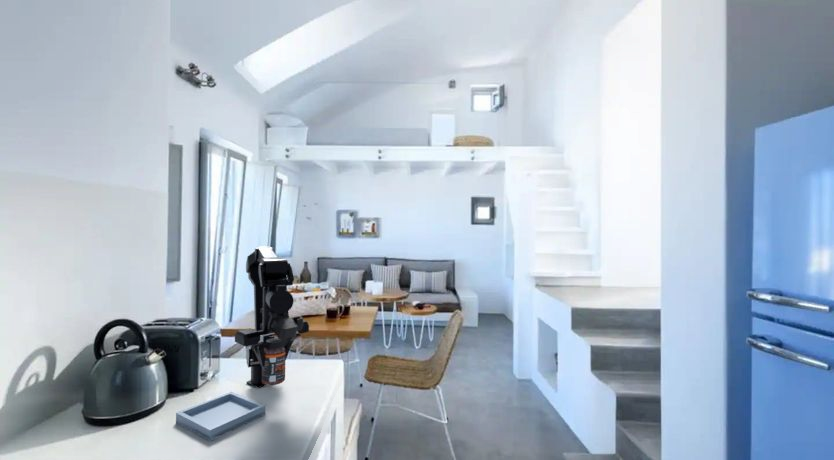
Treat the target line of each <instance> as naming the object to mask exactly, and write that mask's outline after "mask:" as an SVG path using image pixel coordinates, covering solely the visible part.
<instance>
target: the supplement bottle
mask: <svg viewBox="0 0 834 460" xmlns="http://www.w3.org/2000/svg"><path fill="white" fill-rule="evenodd" d="M266 343H267V344H266V348H264V353H265V363H264V366H263V367H262V383H263V384H265V385H266V386H276V385H277V386H278V385H280V384H282V383H283V382H285V380H286V360H285V348H284V347H283V346H282V340H281V339H279V338H278V337H274V338H272V339H268V340H267V341H266Z"/></svg>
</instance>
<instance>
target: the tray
mask: <svg viewBox="0 0 834 460" xmlns="http://www.w3.org/2000/svg"><path fill="white" fill-rule="evenodd" d="M265 415H266V405H265V404H263V403H261V402H258V401H256V400H253V399H251V398H248V397H246V396H243V395H241V394H239V393H237V392H236V393H235V392H234V391H229V392H227V393H225V394H222V395H219V396H217V397H214V398H211V399H209V400H206V401H203V402H201V403H198V404H195V405H193V406H190V407H187V408H186V409H182V410H180V411H178V412H175V423H176V424H178V425H180V426H182V427H183V428H184V429H187V430H188V431H191V432H192V433H195V434H196V435H198V436H200V437H202V438H204V439H206V440H208V441H209V442H211V441H213V440H215V439H217V438H219V437H221V436H223V435H226V434H228V433H230V432H232V431H234V430H237V429H238V428H241V427H242V426H244V425H246V424H249V423H251V422H253V421H255V420H257V419H259V418H261V417H263V416H265Z"/></svg>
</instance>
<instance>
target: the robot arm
mask: <svg viewBox="0 0 834 460" xmlns="http://www.w3.org/2000/svg"><path fill="white" fill-rule="evenodd" d="M245 272H246V274H247V277H248V281H250V283H251V284H252V286H253V302H254V304H253V305H254V306H253V308H254V310H253V311H254V329H253V328H252V327H251V328H246V329H240V330H237V331H236V333H235V335H234V342H235V343H236V344H239V345H241V346H242V347H247V353H246V366H247V368H250V380H247V381H246V384H247V385H250V386H253V387H255V388H258V389H260V388H263V387H265V386H267V385H265V384H263V383H262V367H263V366H264V363H265V353H264V348H266V344H267V343H266V341H267V340H268V339H272V338H275V335H276V336H277V338H279V339H281V340H282V346H283V347H284V348H285V361H287V358H288V355H289V353H290V351H291V347H292V345H293V343H294V341H295V340H296V339H297V338H299V337H300V336H301V335H302V334H304V333H305V334H306V333H309V332H310V324H309V322H308V321H306V320H304V317H302V315H299V316H294V317H290V314H289V311H290V310H291V309H292V307H293V305H294V303H295V302H294V297H293V294H292V293H291V292H290V291H288V290H287V289H288V287H287V286H293V285H294V279H295V277H294V273H293V267H292V265H291V263H290V262H289V260H288V259H287V258H285V257H279V256H277V254H276V253H275V252H274V248H273V247H271V246H257V247H255V248H254V251H253V252H252V253H250V254H249V255H248V256H247V258H246V262H245ZM248 346H249V347H248Z"/></svg>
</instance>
